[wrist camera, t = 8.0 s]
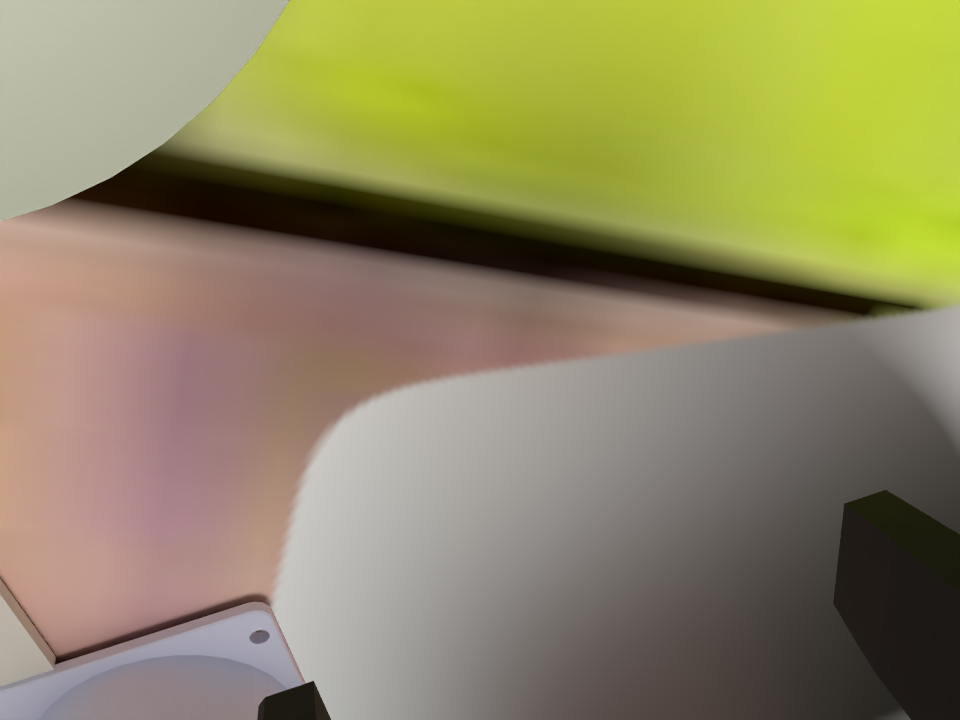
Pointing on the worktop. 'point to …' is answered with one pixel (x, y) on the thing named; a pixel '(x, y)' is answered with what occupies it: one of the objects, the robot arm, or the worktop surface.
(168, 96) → the lid
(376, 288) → the worktop surface
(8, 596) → the mat
